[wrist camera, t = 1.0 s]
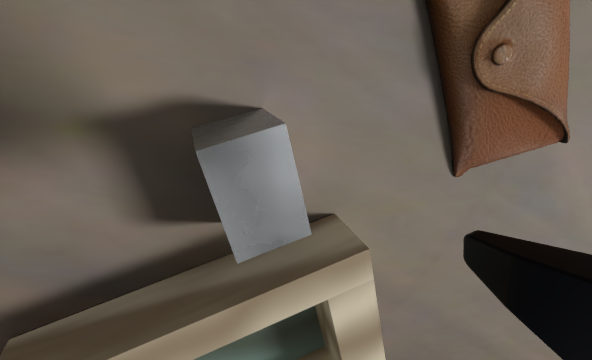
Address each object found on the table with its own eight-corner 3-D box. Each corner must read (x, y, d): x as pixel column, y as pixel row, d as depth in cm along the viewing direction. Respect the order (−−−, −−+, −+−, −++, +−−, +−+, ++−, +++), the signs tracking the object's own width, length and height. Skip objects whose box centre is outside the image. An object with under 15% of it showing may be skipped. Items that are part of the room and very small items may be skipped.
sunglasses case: (393, -90, 17) (561, -187, 12) (438, -107, 21) (578, -184, 16) (454, 185, 25) (567, 191, 20) (477, 136, 29) (577, 132, 24)
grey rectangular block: (285, 199, 21) (311, 234, 17) (224, 221, 20) (237, 263, 16) (261, 107, 18) (285, 123, 14) (190, 128, 17) (195, 151, 13)
